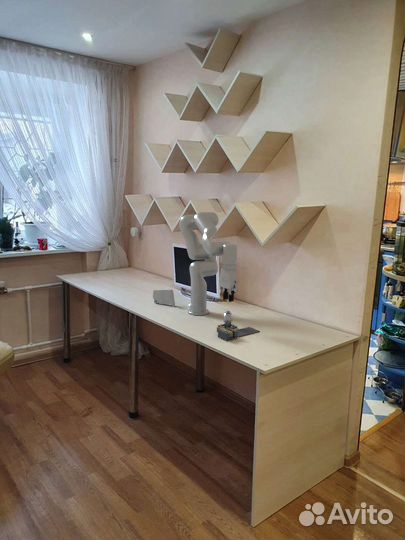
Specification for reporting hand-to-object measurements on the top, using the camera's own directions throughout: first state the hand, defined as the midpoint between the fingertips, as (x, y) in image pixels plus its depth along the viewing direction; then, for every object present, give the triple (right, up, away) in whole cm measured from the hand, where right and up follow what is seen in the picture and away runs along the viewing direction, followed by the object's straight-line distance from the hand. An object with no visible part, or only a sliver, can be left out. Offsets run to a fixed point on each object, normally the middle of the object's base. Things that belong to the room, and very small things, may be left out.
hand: (228, 300), depth 220 cm
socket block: (-1, -18, -13) cm, 22 cm away
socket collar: (0, -15, +3) cm, 15 cm away
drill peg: (0, -15, +3) cm, 15 cm away
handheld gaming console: (-39, -6, +45) cm, 60 cm away
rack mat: (+8, -17, -5) cm, 19 cm away
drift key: (-3, -17, -12) cm, 20 cm away
